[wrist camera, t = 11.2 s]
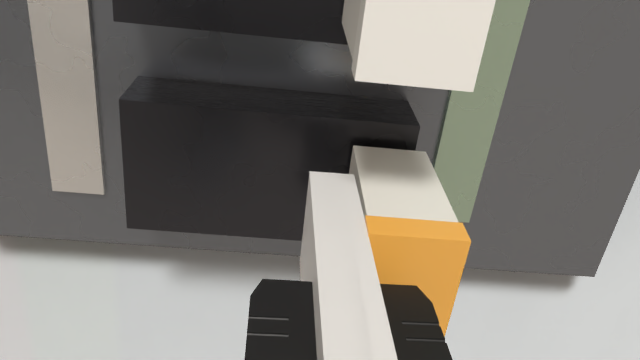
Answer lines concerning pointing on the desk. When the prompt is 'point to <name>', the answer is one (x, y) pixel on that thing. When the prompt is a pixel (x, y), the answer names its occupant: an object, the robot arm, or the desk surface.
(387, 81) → the block
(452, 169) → the panel
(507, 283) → the desk surface
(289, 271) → the desk surface
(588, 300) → the desk surface
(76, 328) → the desk surface
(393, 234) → the block
